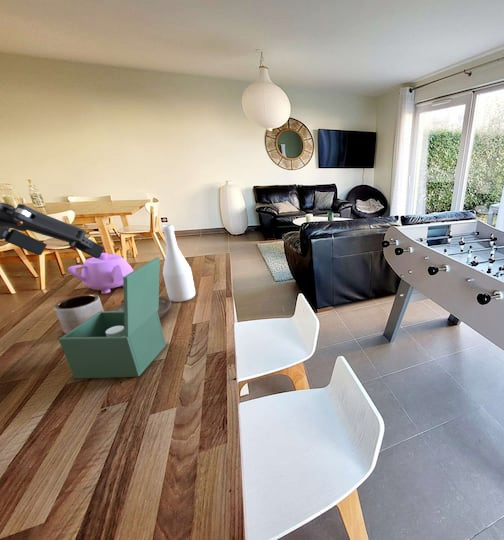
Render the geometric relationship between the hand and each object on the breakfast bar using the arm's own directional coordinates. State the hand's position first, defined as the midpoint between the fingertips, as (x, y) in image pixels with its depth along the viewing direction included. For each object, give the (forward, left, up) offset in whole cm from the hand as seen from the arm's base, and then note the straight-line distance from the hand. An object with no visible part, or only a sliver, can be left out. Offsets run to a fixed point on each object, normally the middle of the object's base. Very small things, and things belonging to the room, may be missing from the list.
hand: (71, 251), depth 64 cm
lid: (+9, +5, -13) cm, 17 cm away
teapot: (-35, +52, -35) cm, 72 cm away
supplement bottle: (0, +5, -34) cm, 34 cm away
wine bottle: (-2, +44, -35) cm, 56 cm away
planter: (-23, +23, -35) cm, 48 cm away
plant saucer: (-9, +30, -35) cm, 47 cm away
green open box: (0, +5, -34) cm, 35 cm away
